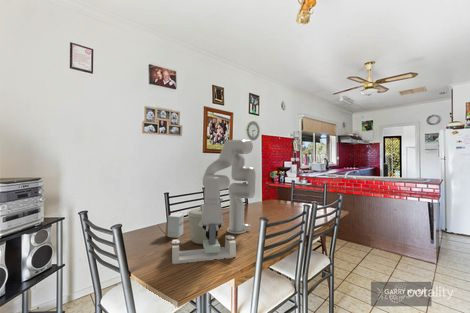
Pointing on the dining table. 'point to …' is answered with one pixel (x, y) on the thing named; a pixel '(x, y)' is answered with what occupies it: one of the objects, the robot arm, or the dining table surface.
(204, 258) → the rail track
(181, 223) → the supplement box
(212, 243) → the carriage
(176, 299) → the dining table surface
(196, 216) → the canister
